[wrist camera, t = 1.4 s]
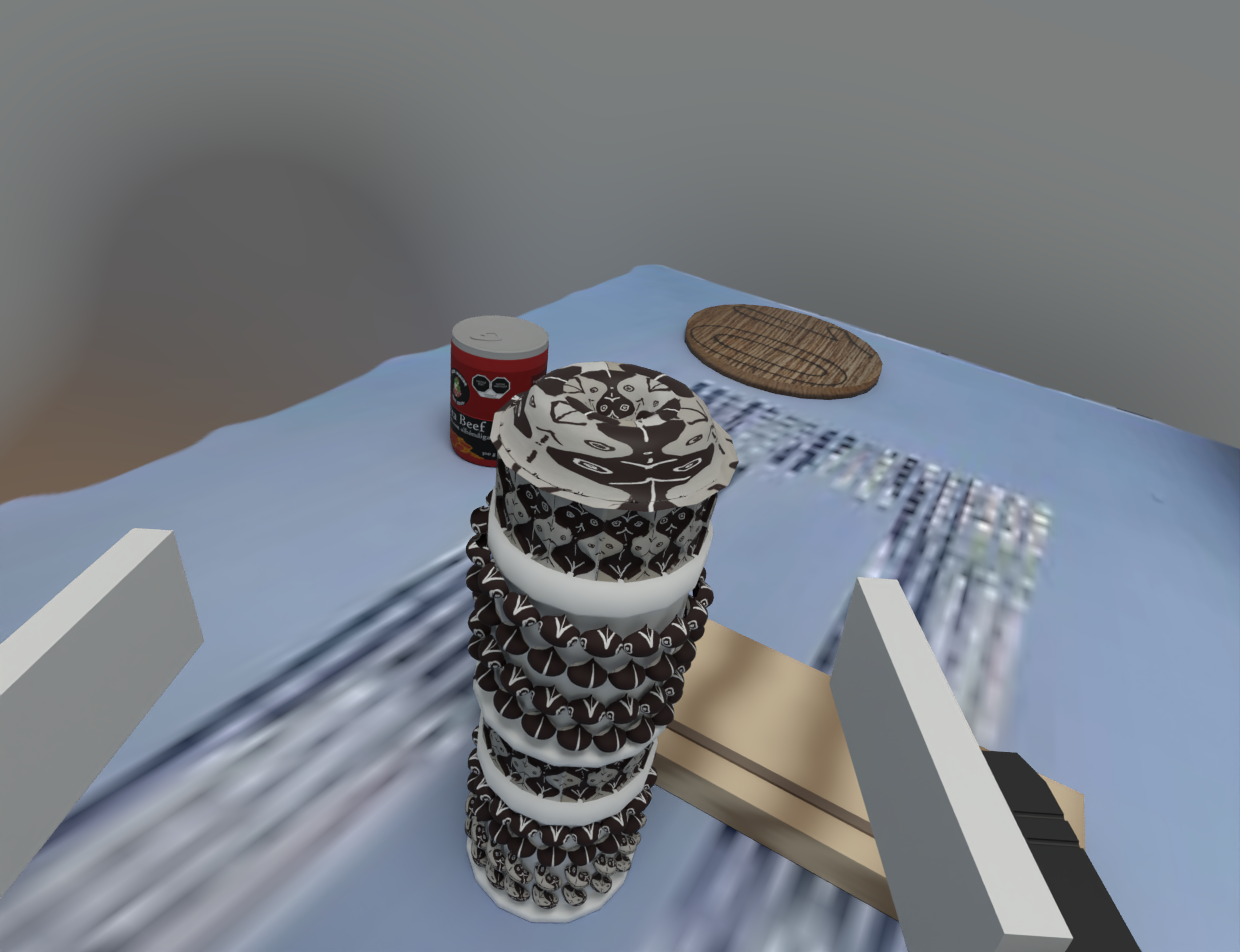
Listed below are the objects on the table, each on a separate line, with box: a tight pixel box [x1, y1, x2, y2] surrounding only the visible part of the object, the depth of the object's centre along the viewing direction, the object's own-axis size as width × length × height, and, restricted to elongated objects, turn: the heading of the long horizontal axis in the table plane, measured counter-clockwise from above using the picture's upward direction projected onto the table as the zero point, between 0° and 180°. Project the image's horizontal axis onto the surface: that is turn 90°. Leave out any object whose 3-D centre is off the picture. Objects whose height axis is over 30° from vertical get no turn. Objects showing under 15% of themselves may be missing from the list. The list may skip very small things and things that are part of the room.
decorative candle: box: [465, 361, 739, 923], centre depth 30 cm, size 9×9×25 cm
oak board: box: [652, 619, 1085, 921], centre depth 41 cm, size 28×11×3 cm, turn 62°
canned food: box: [450, 316, 549, 467], centre depth 63 cm, size 8×8×11 cm
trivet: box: [685, 304, 882, 400], centre depth 94 cm, size 25×25×2 cm
